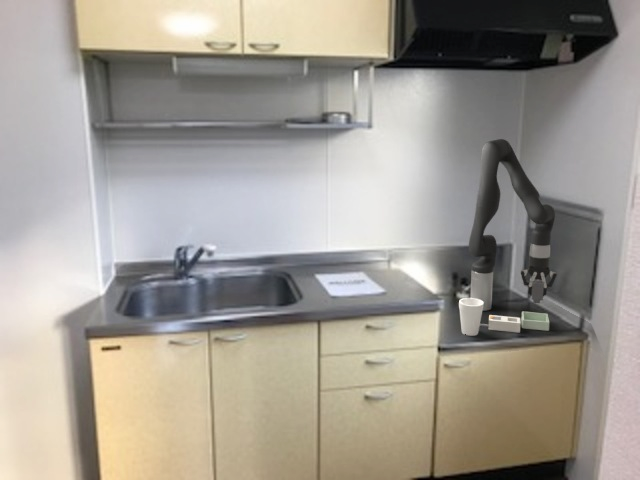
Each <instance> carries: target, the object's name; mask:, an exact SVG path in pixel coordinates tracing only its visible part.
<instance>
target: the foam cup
mask: <svg viewBox="0 0 640 480" xmlns="http://www.w3.org/2000/svg"><path fill="white" fill-rule="evenodd" d="M483 305H484V302H483V301H482V300H479V299H475V298H470V297H463V298H461V299H459V302H458V308H459V318H460V327H461V333H462V335H465V334H466V335H465V336H469V337H470V336H473V337H474V336H477V335H479V331H480V327H481V326H480V324H481V320H482V315H483Z"/></svg>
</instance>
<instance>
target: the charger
mask: <svg viewBox="0 0 640 480" xmlns="http://www.w3.org/2000/svg"><path fill="white" fill-rule="evenodd" d="M543 290H544V283H543V282H542V280H539V279H537V280H535V279H534V282H532V295H531V296H530V298H531V301H532V303H534V304H540V303H541V301H542V302H543V301H544V297H543Z"/></svg>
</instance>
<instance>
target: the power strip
mask: <svg viewBox="0 0 640 480" xmlns="http://www.w3.org/2000/svg"><path fill="white" fill-rule="evenodd" d="M521 325H522V322H521V317H517V316H506V315H504V316H503V315H496V314H495V315H494V314H493V315H492V314H489V316H488V324H487V323H486V324H485V323H480V326H479V327H483V328H487V329H488V330H490V331H498V332H500V331H501V332H508V333H517V334H519V333H521Z"/></svg>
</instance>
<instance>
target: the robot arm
mask: <svg viewBox="0 0 640 480" xmlns="http://www.w3.org/2000/svg"><path fill="white" fill-rule="evenodd" d="M480 155H481V156H480V158H481V159H480V160H481V161H480V177H479V183H478V190H477V195H476V196H477V197H476V203H475V212H474V219H473V223H472V224H473V225H472V228H471V232H470V236H469V242H468V251H469V254H470V256H471V257H474V258H479V257H480V258H479V259H478V260H476V261H475V262H473V263H472V265H471V274H470V276H471V277H470V279H471V280H470V297H469V298H475V299H479V300H482V301H483V302H484V305H483V311H489V310H491V309H492V301H493V283H494V282H493V281H494V269H495V266H496V261H497V260H496V257H497V252H498V251H497V248H498V247H497V245H498V244H497V243H498V242H497V239H496V238H495V236H494V235H492V234H484V233H485V231H486V228H487V226H488V225H489V223H490V222H491V221H492V219H493V218H494V217H495V215H496V214H497V212H498V210H499V207H500V201H501V188H500V186H499V182H498V170H499V165H500V163H501V165H503V167H504V168H505V169H506V171H507V172H508V173H507V174H508V176H509V177H510V183H511V186H512V189H513V191H514V192H515V194H516V195H517V196H518V198H519V199H520V201H521V203H523V206H524V209H525V211H526V213H527V216H528V218H529V219H530V220H531V221H532V222H533V223H534V224H535V228H533V230H532V232H531V236H530V237H531V238H530V248H529V256H528V257H529V259H528V267H527V269H520V275H521V278H522V282H523V285H524V286H527V288H528V289H527V294H528V295H529V296H530V297H531V295H532V282H534V279H535V280H537V279H538V280H542V282H543V283H544V290H543V298H544V297H545V296H547V289H548V288H551V287H552V286H553V284H554V282H555V280H556V278H557V276H558V275H557V274H558V273H557V272H556V271H552V270H550V258H551V238H552V237H551V236H552V235H551V234H552V230H553V226H554V223H555V219H556V212H555V209H554V208H553V206H552V205H550V204H542V202H541V201H540V197H541V195H540V193H539V191H538V190H537V188H536V186H535V185H534V184H533V183H532V181H531V180H530V179H529V177H528V176H527V174H526V172H525V170H524V169H523V167H522V165H521V163H520V161H519V159H518V157H517V155H516V153H515V151H514V148H513V147H512V145H511V143H510V142H509V141H508V140H506V139H505V138H498V139H494V140H490V141H487V142H486V143H485V144H484V145H483V146H482V150H481V154H480ZM527 274H529V276H530V278H529V281H528V280H527V277H526V276H527ZM549 275H550V279H549V281H548V282H547V281H546V278H547V277H548V276H549ZM483 311H482V312H483Z"/></svg>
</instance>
